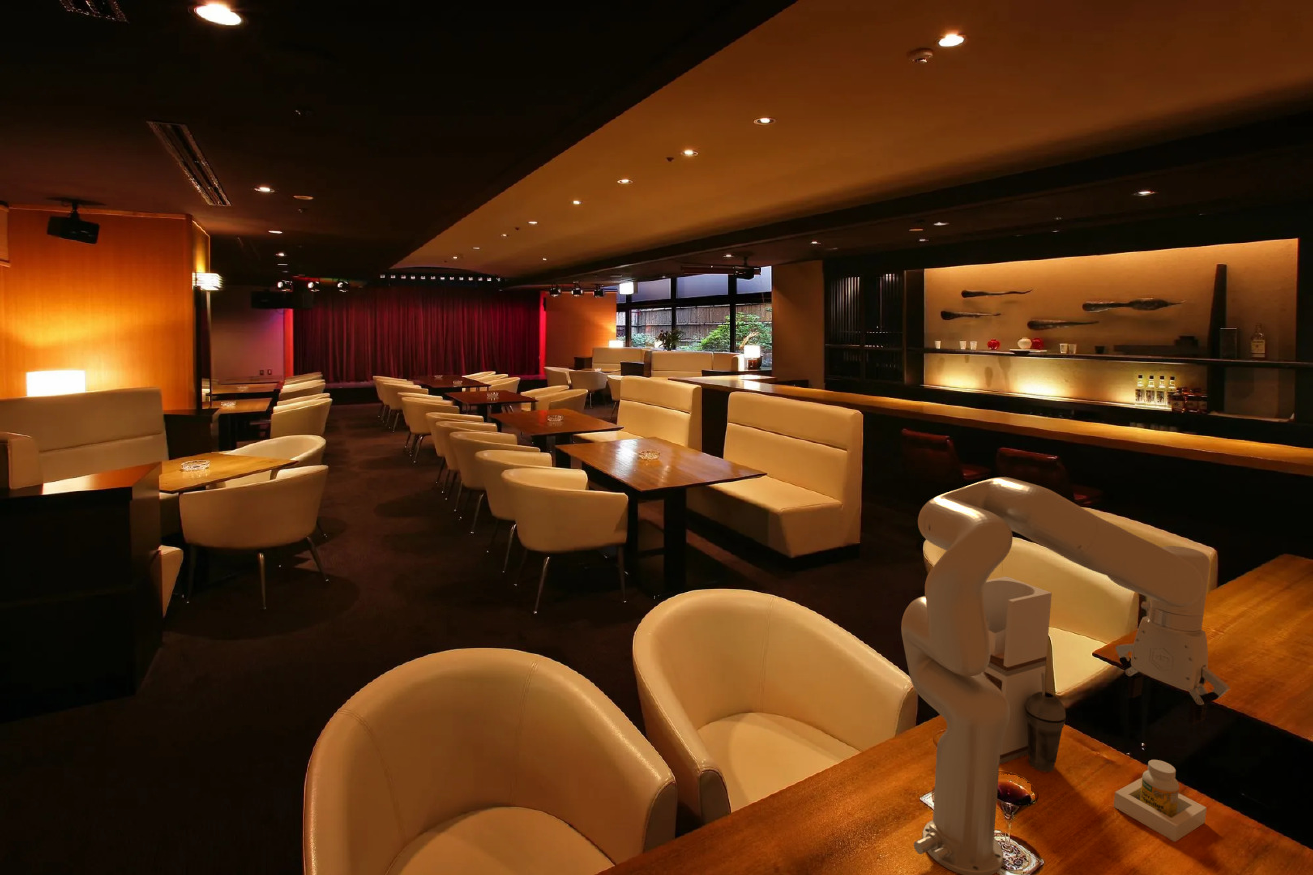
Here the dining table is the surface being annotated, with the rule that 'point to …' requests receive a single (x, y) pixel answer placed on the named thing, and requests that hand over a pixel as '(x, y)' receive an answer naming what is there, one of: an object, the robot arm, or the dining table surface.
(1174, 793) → the supplement bottle
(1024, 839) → the dining table surface
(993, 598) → the white notched pedestal
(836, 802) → the dining table surface
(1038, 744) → the beverage cup
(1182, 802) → the white rectangular hollow frame
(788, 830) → the dining table surface
